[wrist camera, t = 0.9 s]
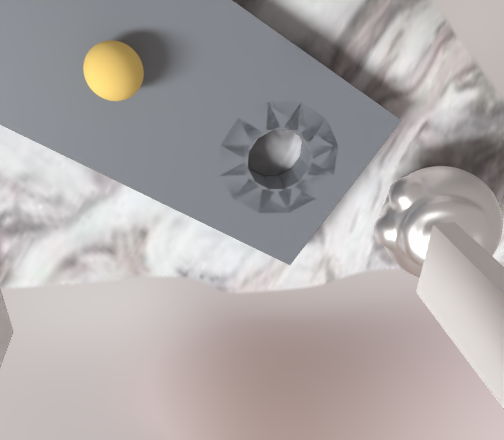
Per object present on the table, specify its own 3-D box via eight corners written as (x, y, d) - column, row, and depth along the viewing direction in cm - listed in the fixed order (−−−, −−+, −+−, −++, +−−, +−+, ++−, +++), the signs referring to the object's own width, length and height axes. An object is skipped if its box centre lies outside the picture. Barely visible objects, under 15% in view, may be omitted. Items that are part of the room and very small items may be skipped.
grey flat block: (-69, 73, 30) (-87, 82, 28) (15, -154, 26) (1, -164, 23) (283, 248, 41) (290, 265, 39) (387, 110, 36) (401, 120, 34)
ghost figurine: (437, 121, 37) (518, 170, 29) (475, 206, 42) (556, 271, 33) (338, 185, 39) (388, 250, 30) (386, 261, 43) (441, 336, 34)
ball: (76, 67, 29) (66, 80, 26) (110, 23, 28) (103, 31, 25) (122, 104, 30) (118, 119, 28) (156, 63, 30) (154, 74, 27)
